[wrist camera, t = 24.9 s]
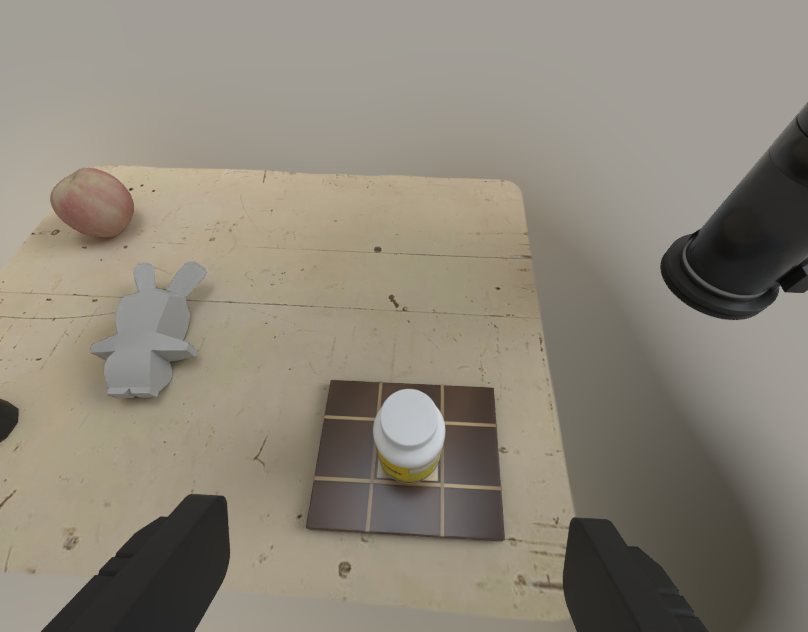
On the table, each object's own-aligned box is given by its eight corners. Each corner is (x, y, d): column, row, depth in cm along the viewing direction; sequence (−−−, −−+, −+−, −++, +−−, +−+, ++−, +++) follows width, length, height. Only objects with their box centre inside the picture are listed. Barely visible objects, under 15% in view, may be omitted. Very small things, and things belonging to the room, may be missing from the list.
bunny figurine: (63, 389, 36) (113, 252, 42) (102, 404, 40) (142, 278, 47) (169, 387, 36) (202, 250, 42) (196, 401, 40) (222, 276, 47)
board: (491, 391, 40) (494, 386, 39) (502, 541, 32) (505, 540, 31) (332, 383, 40) (330, 378, 39) (308, 529, 33) (305, 527, 32)
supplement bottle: (368, 438, 36) (357, 397, 28) (421, 412, 37) (425, 366, 29) (394, 497, 33) (390, 471, 25) (450, 467, 34) (464, 432, 26)
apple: (125, 200, 55) (87, 148, 49) (159, 222, 53) (123, 171, 46) (71, 233, 52) (21, 183, 45) (104, 259, 49) (57, 209, 43)
